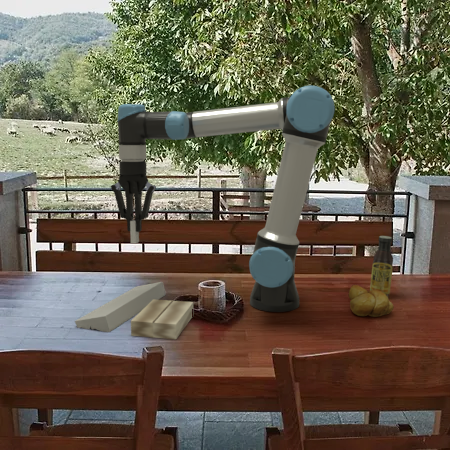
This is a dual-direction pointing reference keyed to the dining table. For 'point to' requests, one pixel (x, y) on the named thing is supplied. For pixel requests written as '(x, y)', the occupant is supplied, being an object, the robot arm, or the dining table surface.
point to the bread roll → (369, 302)
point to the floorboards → (162, 319)
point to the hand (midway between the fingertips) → (134, 242)
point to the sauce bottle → (382, 266)
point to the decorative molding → (121, 308)
